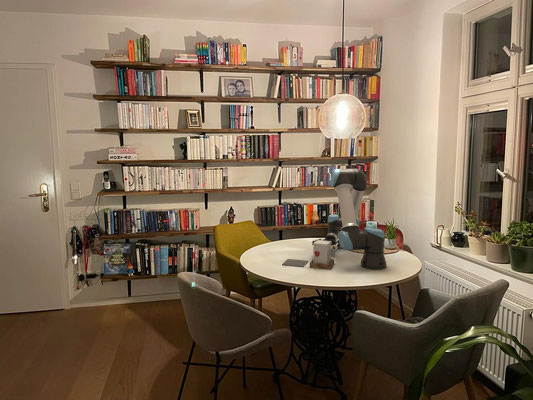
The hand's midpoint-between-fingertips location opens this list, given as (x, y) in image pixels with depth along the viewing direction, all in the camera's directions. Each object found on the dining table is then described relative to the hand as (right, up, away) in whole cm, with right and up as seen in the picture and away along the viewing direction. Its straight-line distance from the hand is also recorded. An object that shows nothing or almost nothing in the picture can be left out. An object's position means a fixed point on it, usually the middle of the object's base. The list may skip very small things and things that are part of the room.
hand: (325, 246), depth 240 cm
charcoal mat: (-19, -10, -3) cm, 22 cm away
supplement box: (-3, -11, -9) cm, 14 cm away
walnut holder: (-3, -11, -9) cm, 14 cm away
